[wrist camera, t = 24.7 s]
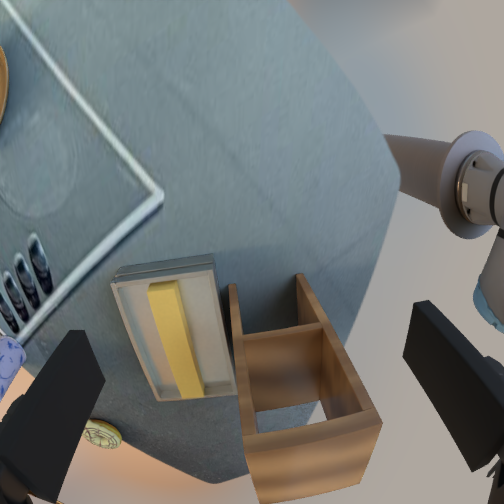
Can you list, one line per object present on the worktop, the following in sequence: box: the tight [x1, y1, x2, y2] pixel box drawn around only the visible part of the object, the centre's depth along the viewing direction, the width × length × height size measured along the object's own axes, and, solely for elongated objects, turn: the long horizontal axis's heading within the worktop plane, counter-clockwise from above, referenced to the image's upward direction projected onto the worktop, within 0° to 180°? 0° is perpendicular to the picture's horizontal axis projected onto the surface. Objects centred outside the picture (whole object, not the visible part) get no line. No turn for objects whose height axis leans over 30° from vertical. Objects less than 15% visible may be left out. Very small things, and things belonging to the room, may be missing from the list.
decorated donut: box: [82, 419, 122, 449], centre depth 59 cm, size 10×11×4 cm
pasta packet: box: [147, 280, 205, 399], centre depth 46 cm, size 22×4×3 cm, turn 6°
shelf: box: [228, 273, 383, 504], centre depth 38 cm, size 14×12×30 cm
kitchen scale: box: [110, 254, 238, 401], centre depth 49 cm, size 26×15×6 cm, turn 7°
